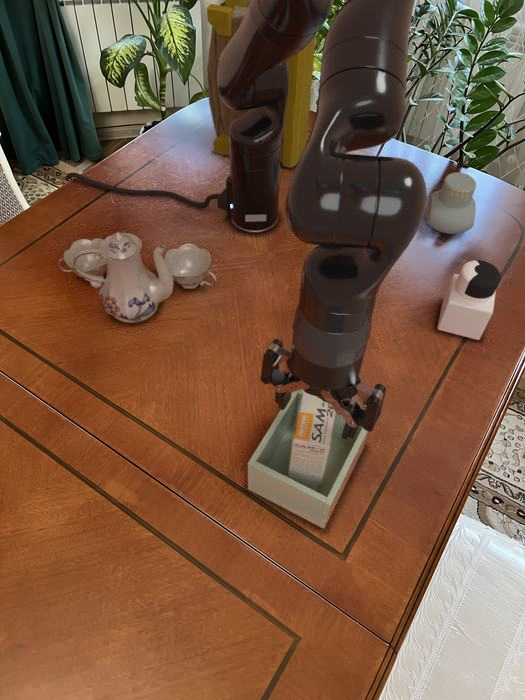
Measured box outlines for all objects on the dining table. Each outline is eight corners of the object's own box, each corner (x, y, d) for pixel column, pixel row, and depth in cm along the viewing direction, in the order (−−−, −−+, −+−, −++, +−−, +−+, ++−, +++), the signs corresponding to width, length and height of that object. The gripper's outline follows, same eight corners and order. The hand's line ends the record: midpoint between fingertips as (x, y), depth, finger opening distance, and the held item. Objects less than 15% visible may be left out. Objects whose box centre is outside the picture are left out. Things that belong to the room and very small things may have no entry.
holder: (247, 489, 79) (247, 463, 73) (292, 415, 86) (295, 386, 80) (323, 529, 76) (330, 505, 69) (363, 448, 83) (372, 421, 77)
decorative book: (309, 145, 131) (321, 1, 107) (293, 171, 124) (303, 25, 100) (228, 127, 135) (223, -16, 111) (209, 152, 128) (199, 6, 105)
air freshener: (468, 244, 111) (485, 201, 103) (425, 238, 112) (438, 196, 104) (466, 208, 118) (481, 166, 110) (425, 203, 118) (437, 161, 110)
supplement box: (320, 495, 78) (331, 449, 67) (285, 488, 78) (291, 441, 68) (328, 442, 83) (339, 392, 72) (295, 436, 83) (302, 385, 73)
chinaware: (218, 268, 108) (215, 189, 96) (215, 329, 96) (211, 248, 84) (68, 268, 107) (46, 188, 95) (47, 330, 95) (18, 248, 83)
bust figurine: (483, 311, 100) (507, 260, 91) (479, 341, 96) (504, 291, 86) (442, 301, 101) (462, 250, 92) (436, 330, 97) (456, 280, 88)
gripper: (410, 337, 58) (380, 420, 70) (284, 286, 62) (278, 373, 74) (382, 391, 53) (356, 469, 66) (250, 333, 57) (249, 416, 70)
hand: (315, 418), depth 70 cm, fingers open, 8 cm apart
